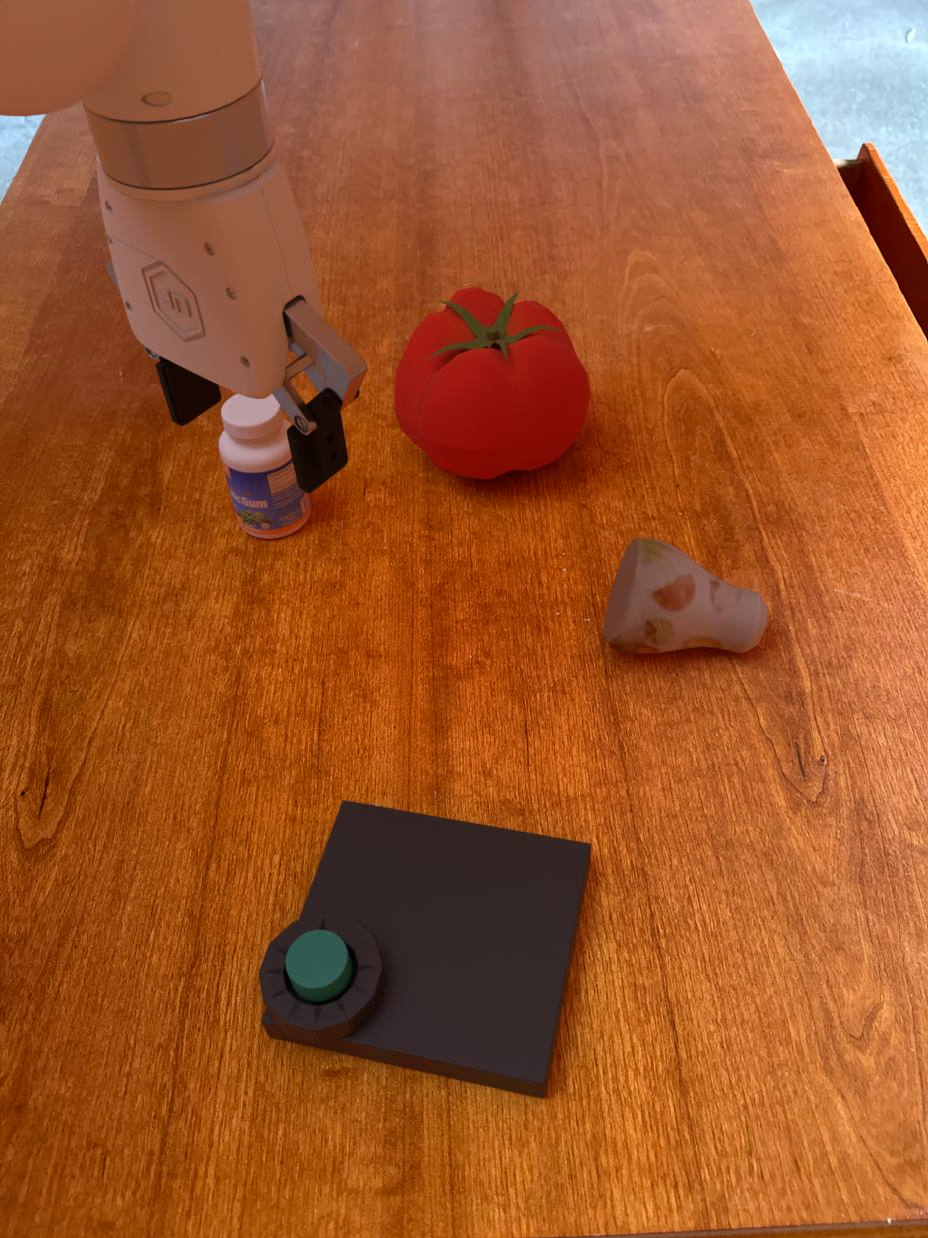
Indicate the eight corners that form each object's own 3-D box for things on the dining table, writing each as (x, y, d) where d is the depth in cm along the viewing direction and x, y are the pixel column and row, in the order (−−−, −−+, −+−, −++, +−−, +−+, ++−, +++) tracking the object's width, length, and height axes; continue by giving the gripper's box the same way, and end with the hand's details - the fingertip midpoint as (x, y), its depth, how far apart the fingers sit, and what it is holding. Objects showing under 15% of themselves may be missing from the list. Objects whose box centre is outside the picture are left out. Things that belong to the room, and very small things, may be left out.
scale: (256, 1044, 56) (241, 1014, 54) (339, 816, 65) (330, 781, 63) (543, 1109, 53) (542, 1081, 51) (590, 861, 62) (592, 826, 60)
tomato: (609, 488, 83) (615, 350, 74) (416, 523, 81) (399, 388, 73) (562, 382, 92) (562, 249, 83) (387, 413, 90) (369, 280, 82)
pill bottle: (222, 520, 83) (191, 412, 76) (277, 481, 85) (251, 373, 78) (273, 552, 80) (246, 443, 73) (328, 510, 83) (306, 401, 76)
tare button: (282, 995, 55) (276, 981, 54) (302, 938, 57) (297, 923, 56) (341, 1008, 54) (336, 994, 53) (360, 950, 56) (355, 935, 55)
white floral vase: (777, 687, 70) (712, 608, 63) (634, 697, 75) (560, 625, 68) (787, 582, 73) (726, 496, 66) (649, 599, 79) (580, 521, 72)
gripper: (-9, 114, 51) (102, 423, 63) (261, 219, 43) (327, 547, 56) (121, 55, 55) (202, 357, 67) (392, 142, 47) (426, 465, 59)
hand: (259, 443), depth 61 cm, fingers open, 9 cm apart
